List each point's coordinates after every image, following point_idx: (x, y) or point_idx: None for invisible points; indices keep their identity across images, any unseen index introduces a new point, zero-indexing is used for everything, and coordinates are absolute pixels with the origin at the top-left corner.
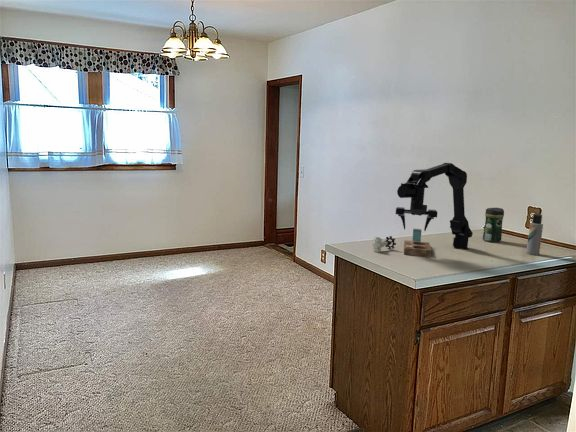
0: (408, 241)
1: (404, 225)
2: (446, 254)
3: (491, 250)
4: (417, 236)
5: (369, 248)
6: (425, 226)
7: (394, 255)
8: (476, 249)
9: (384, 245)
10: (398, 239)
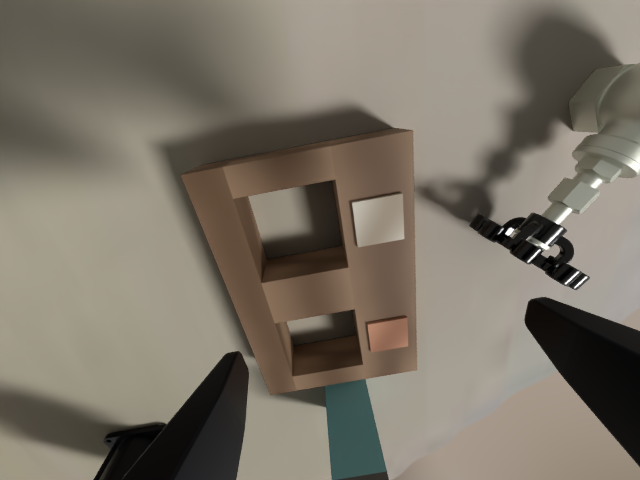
0: (391, 357)
1: (623, 337)
2: (144, 294)
3: (21, 467)
4: (349, 435)
5: None
6: (196, 425)
7: (467, 31)
8: (79, 452)
9: (579, 149)
10: (432, 433)
